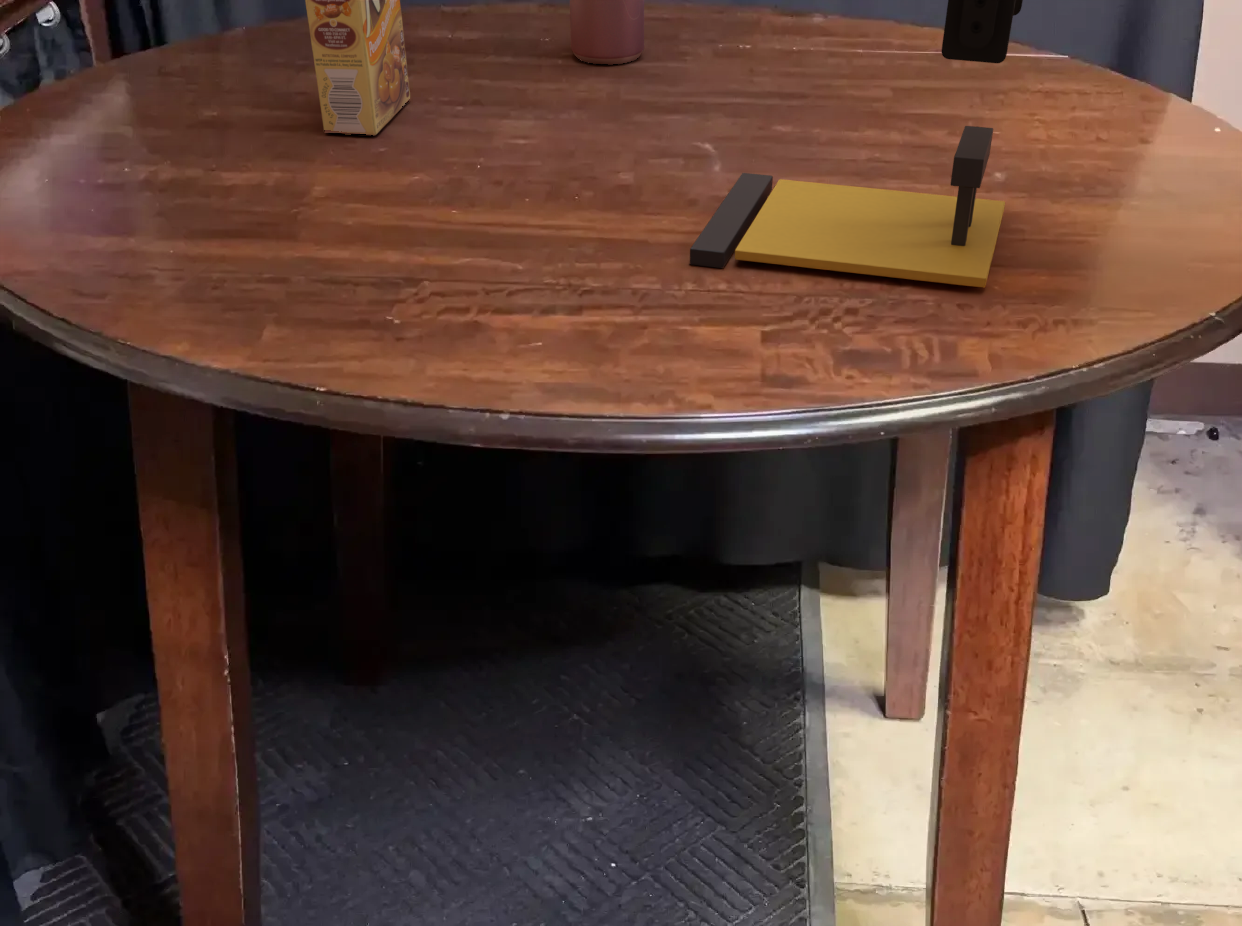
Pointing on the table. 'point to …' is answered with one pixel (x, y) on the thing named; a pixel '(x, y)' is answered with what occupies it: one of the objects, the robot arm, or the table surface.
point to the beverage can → (607, 30)
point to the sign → (884, 226)
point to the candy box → (358, 62)
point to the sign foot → (731, 221)
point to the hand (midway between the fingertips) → (982, 35)
